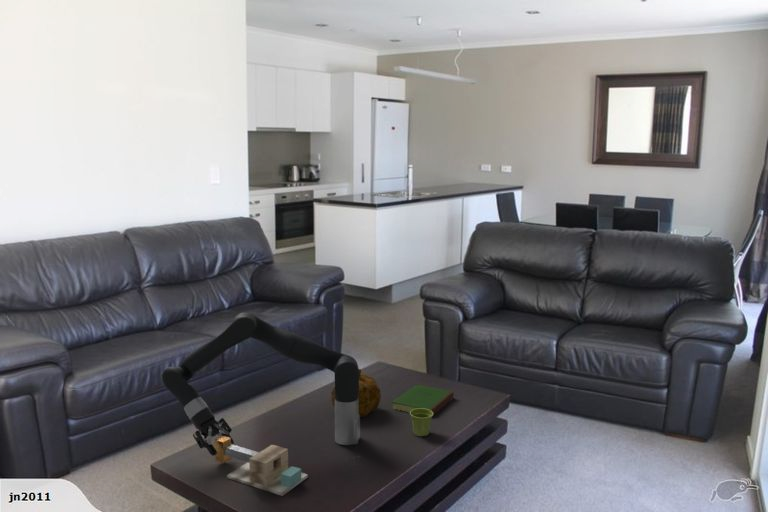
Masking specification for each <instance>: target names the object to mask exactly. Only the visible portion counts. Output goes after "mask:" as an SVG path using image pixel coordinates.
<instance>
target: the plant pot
mask: <svg viewBox="0 0 768 512" xmlns="http://www.w3.org/2000/svg"><path fill="white" fill-rule="evenodd" d="M409 414H410V418H411V423H412V431H413V433H412V434H414V435H415V436H417V437H423V436H424V437H426V436H428V435H429V433H430V427H431V421H432V418H433V416H434V415H433V412H432V411H431V410H429V409H425V408H417V409H413V410H411V411H410V413H409Z"/></svg>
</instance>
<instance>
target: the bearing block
mask: <svg viewBox="0 0 768 512" xmlns="http://www.w3.org/2000/svg"><path fill="white" fill-rule="evenodd" d="M258 452H259V453H258V454H256V455H254V456H253V457H251V458H249V465H250V481H252V482H256V483H259V484H262V485H265V486H267V485H268V484H270V483H271V482H273V481H274V480H276V479H277V478H278V477H280V476H281V473H283V472H284V471H285V470H287V469H288V468H289V449H288V448H285V447H282V446H279V445H275V444H270V445H269V446H267V447H265V448H264V449H263V450H261V451H258Z"/></svg>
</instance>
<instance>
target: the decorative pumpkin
mask: <svg viewBox="0 0 768 512" xmlns="http://www.w3.org/2000/svg"><path fill="white" fill-rule="evenodd" d="M358 369H359V415H360V418H364V417H366V416H368V414H369V413H371V412H373V411H375V410H377V409H378V407H379V405H380V402H381V398H382V396H381V395H382V394H381V389H380V388H379V386H378V383H377V381H376V379H374V377H372V376H371V375H367V374H365V373H362V370H361V369H360V368H358ZM333 386H334V387H332V389H333V390H331V393H330V399H331V401H330V402H331V404H332V406H333V408H334V409H335V385H333Z"/></svg>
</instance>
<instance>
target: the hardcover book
mask: <svg viewBox="0 0 768 512" xmlns="http://www.w3.org/2000/svg"><path fill="white" fill-rule="evenodd" d="M452 400H454V391H450V390H445V389H441V388H435V387H431V386H426V385H420V384H416V385H414V386H412V387H411V388H410V389H408V390H407V391H405V392H404V393H403V394H401V395H400V396H398V397H397V398H395V399H394V400H392V401H391V402H392V409H393V410H396V409H397V410H396V411H400V410H401V411H400V412H406V413H409V414H410V411H411V410H413V409H417V408H425V409H429V410H431V411H432V412H433V416H434V415H436V414H437V413H439V411H440V410H441V409H443V408H444V407H445V406H447V405H448V404H449V403H450V402H452Z"/></svg>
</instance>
